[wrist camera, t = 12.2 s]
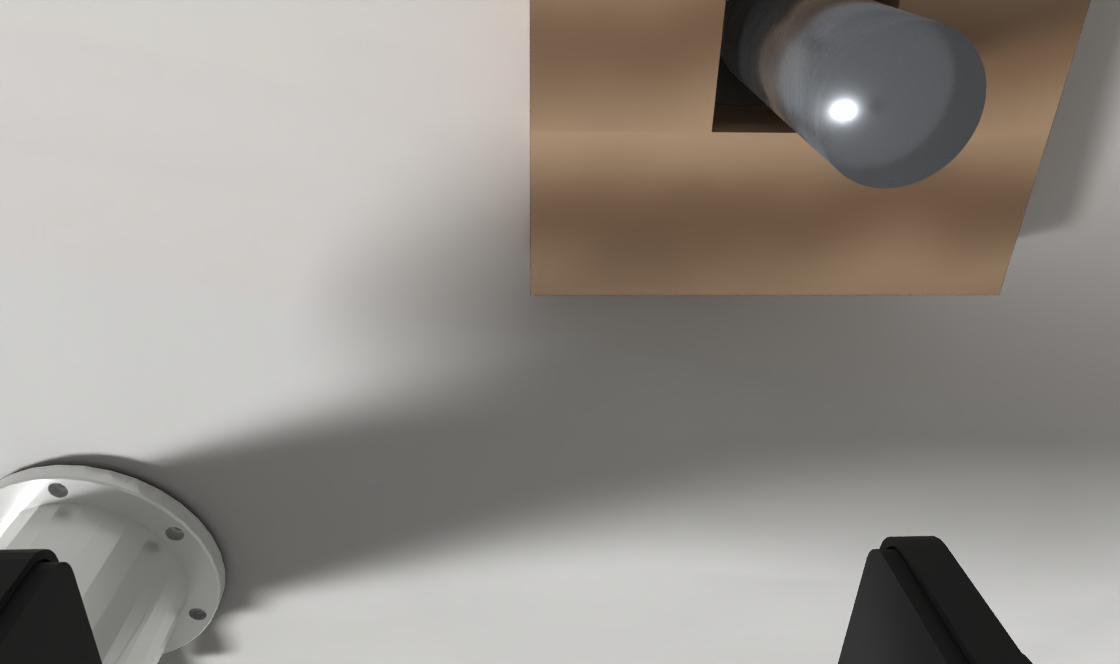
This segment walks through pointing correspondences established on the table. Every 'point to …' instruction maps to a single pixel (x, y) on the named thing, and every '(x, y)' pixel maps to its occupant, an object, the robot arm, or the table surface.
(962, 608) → the robot arm
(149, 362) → the table surface
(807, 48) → the peg
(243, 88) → the table surface
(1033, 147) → the socket
